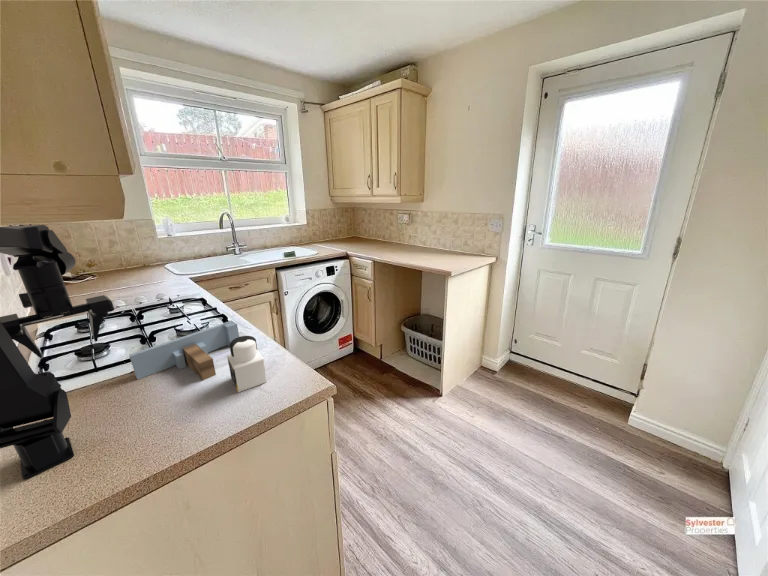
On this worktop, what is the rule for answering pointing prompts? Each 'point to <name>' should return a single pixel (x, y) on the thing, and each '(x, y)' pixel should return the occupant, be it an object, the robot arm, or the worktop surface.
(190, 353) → the brown wooden block
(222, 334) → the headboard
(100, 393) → the worktop surface
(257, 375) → the medicine bottle
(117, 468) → the worktop surface
